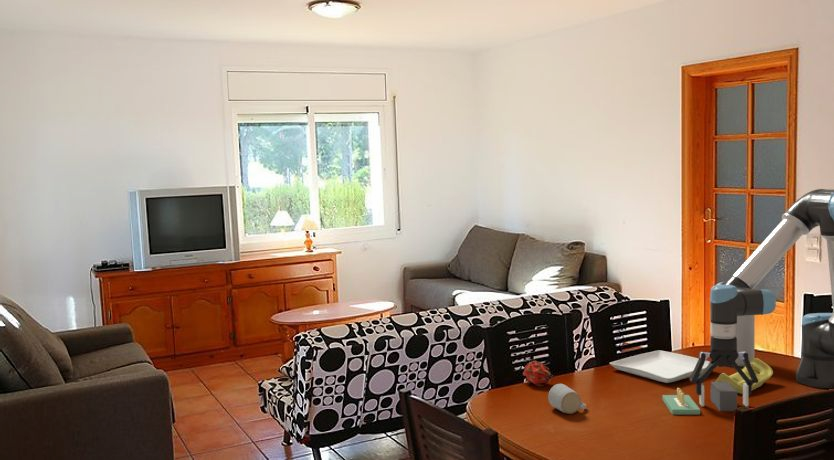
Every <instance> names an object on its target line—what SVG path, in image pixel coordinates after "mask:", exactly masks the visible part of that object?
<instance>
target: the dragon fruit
mask: <svg viewBox="0 0 834 460" xmlns="http://www.w3.org/2000/svg"><path fill="white" fill-rule="evenodd" d="M521 373H522V376H525V377H526V378H525V379H526V381H527V383H528V384H531V383H532V384H534V385H535V386H537V387H544V386H545V385H544V384H546V383H547V384H548V383H550V382H551V379H552V378H553V375H554V373H552V371H550V368H549V367H548V366H547V365H544V363H543V362H540V361H537V360H533V361H529V362H528V363H527V364H526V365H525V366H524V370H523V372H521ZM543 383H544V384H543Z"/></svg>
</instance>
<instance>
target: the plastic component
mask: <svg viewBox="0 0 834 460" xmlns="http://www.w3.org/2000/svg"><path fill="white" fill-rule="evenodd" d="M750 364H751V366H752V368H753V370H754V373H755V375H756V377H757V379H758V383H753V385H752V391H754V390H756V389H757V388H760V387H762V385H763V384H764V383H765V382H767V381H769V379H770V378H771V377H772V376H773V374H774V371H773V369H772V367H771V366H770V365H768V364H767V363H766V362H764V361H763V360H761V359H759V358H758V357H756V358H755V357H754V359H753V360H752V361H751V362H750ZM741 370H742V371H743V372H744V373H745V375H746V376H747V377H748V378H749V379H751V377H750V375H749V373H748V371H747V368H746V366H744V367H743V368H741ZM714 382H728V383H729V384H730V385H731V386H732V387H733V388H734V389H735V390H736V391H737V394H740V395H743V383H746V382H745V380H744V379H743V378H742V377H741V376H740V374H739V373H738V372H737V371H736V372H735V373H733V374H731V375H728V374H726V373H725V372H723V373H720V374H719V376H718V377H717V378H716V379H715V381H714Z"/></svg>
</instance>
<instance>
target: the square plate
mask: <svg viewBox="0 0 834 460" xmlns="http://www.w3.org/2000/svg"><path fill="white" fill-rule="evenodd" d="M698 360H699V357H698V358H697V357H694V356H689V355H685V354H681V353H676V352H670V351H665V350H659V349H658V350H654V351H650V352H645V353H640V354H635V355H633V356H632V355H631V356H629V357H625V358H621V359H618V360H614V361H611V362H609V365H611V366H612V367H613V368H615V369H616V370H619V371H621V372H625V373H628V374H631V375H635V376H639V377H641V378H646V379H650V380H652V381H653V380H654V381H656V382H660V383H661V382H662V383H665V384H670V383H675V382H679V381H681V380H682V381H683V380H684V379H687V378H689V379H690V377H691V375H692V373H693V370H694V368H695V366H696V364H697V362H698ZM709 362H710V361H709V360H705V363H704V365H703V367H702V369H701V371H700V373H699V376H700V375H701V373H702V372H703V371H704V370H705V368H706V367H707V366H708V365H709Z"/></svg>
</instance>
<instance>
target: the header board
mask: <svg viewBox="0 0 834 460" xmlns="http://www.w3.org/2000/svg"><path fill="white" fill-rule="evenodd" d="M662 401H663V403H664V405H665V406H666V407H667V409H668V410H669V412H670V413H671V415H701V408H699V406H698V404H697V403H696V402H695V401H694V400H693V399H692V398H691V396H690V395H689V394H685V392H683V390H681V388H680V387H677V388H676V394H662Z"/></svg>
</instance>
